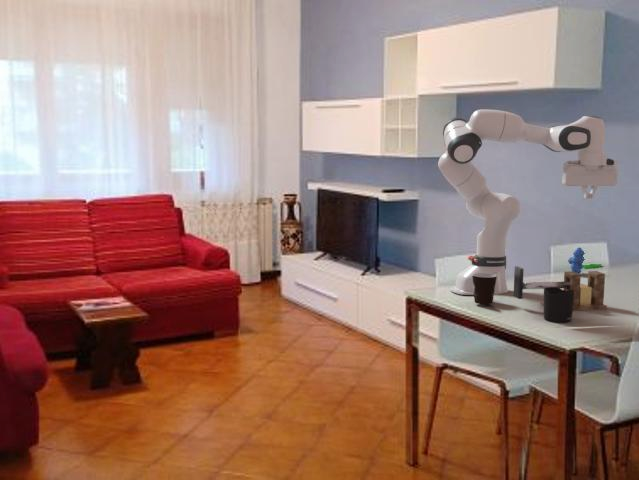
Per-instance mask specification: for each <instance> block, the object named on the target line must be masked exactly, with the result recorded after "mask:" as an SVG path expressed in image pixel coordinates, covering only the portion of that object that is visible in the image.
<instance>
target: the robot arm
mask: <svg viewBox="0 0 639 480" xmlns="http://www.w3.org/2000/svg"><path fill="white" fill-rule="evenodd" d="M605 127H606V125H605V122H604V120H603V119H602V118H601V117H598V116H594V115H583V116H582V117H581V118H579V119H577V120H576V121H574V122H572V123H568V124H566V125H564V124H563V125H560V124H558V125H557V124H556V125H552V126H549V127H545V126H544V127H543V126H539V125H533V124H529V123H526V122H525V121H524V119H523V118H522V116H520V115H519V114H516V113H513V112H510V111H505V110H501V109H500V110H499V109H485V108H483V109H477V110H475V111H473V113H472V114H471V116H470V118H469V121H467V120H466V119H464V118H462V117H452V118H450V119H448V121H446V123H445V125H444V126H443V131H442V137H443V142H444V146H445V148H446V151H445V152H444V153H443V154H442V155H441V156H440V157H439V160H438V162H437V166H438V169H439V171H440V172H441V174H442V176H443V177H444V178H445V180H446V181H447V182H448V183H449V184H450V185H451V186H452V187H453V188H454V189H455V190H456V192H458V194H459V195H461V196H462V198H463V199H464V201H465V208H466V211H467V212H468V214H469V215H471V216H473V217H475V218H477V219H480V220H485V223H484V225H483V229H482V231H480V232H478V234H477V236H476V254H475V255H474V256H473V255H470V254H469V255H468V256H467V259H468V260H469V261H470V262H471V264H469V266H468V267H466V268H465V269H463V270H462V271H460V272H459V273H458V275H457V276H456V280H455V285H450V287H449V290H450V291H451V292H453V293H455V294H458V295H462V296H465V295H466V296H474V289H473V277H472V274H475V273H489V274H495V275H497V278H496V284H495V291H494V295H500V294H506V293H508V292H509V289H508V285H507V279H506V278H507V277H506V269H507V256H506V247H507V236H508V232H509V229H510V227H511V225H512V223H513V222H514V221H515V220H516V219H517V218H518V217H519V215H520V213H521V204H520V201H519V199H517V198H516V197H515V196H513V195H510V194H508V193H502V192H494V191H492V190H490V189H489V188H488V187H487V185H486V184H487V179H486V177H485V175H483V173H482V172H481V171H479V169H478V168H477V167H476V166H475V165H474V164H473V163H472V161H473V160H474V158H475V157H476V156H477V153H478V152H479V150H480V148H481V147H482V145H483V143H482V141H484V140H485V141H486V140H487V141H488V140H489V141H494V142H499V143H517V142H520V141H521V142H522V141H524V142H530V143H533V144H539V145H542V146H544V147H545V148H547V149H549V150H550V151H552V152H555V153H562V152H565V153H566V152H567V153H568V152H575V151H578V152H577V153H578V154H577V160H567V161H565V162H564V164H563V167H562V170H563V172H562V177H561V184H562V186H564V187H580V188H581V189H580V190H581V192H582V193H583V199H594V197H595V196H594V195H595V193H596V192H597V190H598V187H615V186H616V185H617V184H618V179H619V178H618V169H617V167H616V166H617V160H616V159H614V158H610V157H609V156H605V150H604V144H605V141H606V137H605V136H606V130H605ZM588 187H590V189H591V190H590V192H589V193H588V191H587V190H588V189H589V188H588Z"/></svg>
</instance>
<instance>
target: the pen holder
mask: <svg viewBox="0 0 639 480" xmlns="http://www.w3.org/2000/svg"><path fill="white" fill-rule="evenodd" d="M573 301H574V290H568V291H565V290H564V289H563V288H556V287H548V288H544V289H543V302H544V306H543V319H544V320H545V321H547V322H551V323H557V324H558V323H559V324H564V323H565V324H566V323H570V322H571V321H572V319H573V312H574V310H573Z"/></svg>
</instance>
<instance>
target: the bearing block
mask: <svg viewBox="0 0 639 480" xmlns="http://www.w3.org/2000/svg"><path fill="white" fill-rule="evenodd" d="M563 274H564V275H563V282H566V281H570V288H563V290H565V291H568V290H574V301H573V311H588V310H591V311H592V310H593V311H594V310H608V305H607V304H604V300H605V299H604V297H605V284H606V283H605V282H606V279H605V278H606V273H603V272H601V271H598V270H588V275H587V286H589V287H592V290H591V305H586V306H579V296H580V284H581V273H580V274H578V273H575V272H573V271H572V270H569V271H564V273H563ZM540 305H541V307H544V301H541V302H540Z"/></svg>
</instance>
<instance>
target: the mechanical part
mask: <svg viewBox="0 0 639 480" xmlns="http://www.w3.org/2000/svg"><path fill="white" fill-rule="evenodd" d="M600 266H601V267H602V263H601V264H590V265H583V268H582V269H583V270H584V269H594V268H601V267H600Z"/></svg>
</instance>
